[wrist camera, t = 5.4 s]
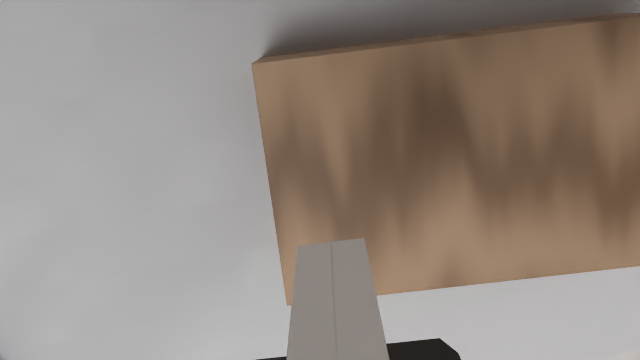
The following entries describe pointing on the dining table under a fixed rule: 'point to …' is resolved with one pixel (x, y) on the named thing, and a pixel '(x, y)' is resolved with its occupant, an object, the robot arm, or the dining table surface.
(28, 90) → the dining table surface
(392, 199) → the walnut slab
